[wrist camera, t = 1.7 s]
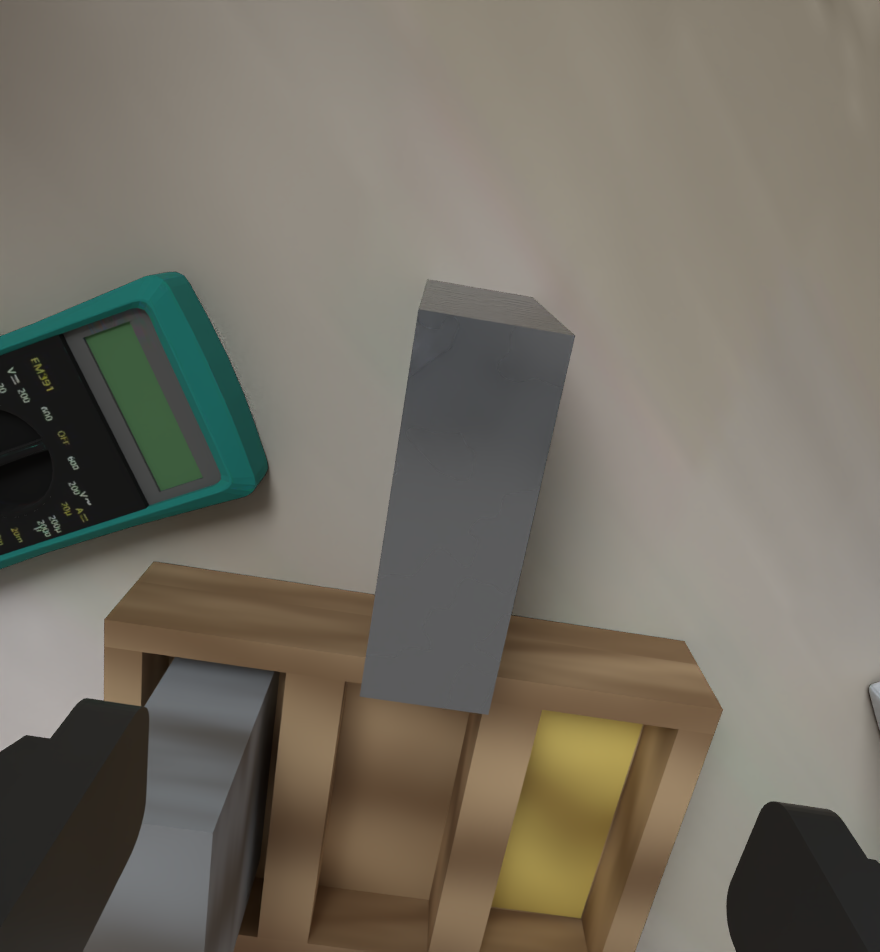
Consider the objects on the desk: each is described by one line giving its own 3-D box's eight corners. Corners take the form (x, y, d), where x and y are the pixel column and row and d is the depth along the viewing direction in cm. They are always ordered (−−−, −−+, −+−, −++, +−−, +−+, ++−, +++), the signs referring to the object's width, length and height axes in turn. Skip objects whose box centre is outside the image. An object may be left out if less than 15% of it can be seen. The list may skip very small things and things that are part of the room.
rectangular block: (427, 279, 23) (418, 309, 15) (532, 296, 23) (575, 335, 15) (384, 558, 26) (359, 696, 18) (475, 572, 26) (488, 715, 19)
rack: (153, 561, 26) (0, 740, 17) (684, 641, 27) (802, 850, 18) (144, 853, 31) (21, 1113, 22) (595, 912, 32) (652, 1184, 23)
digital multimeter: (-197, 404, 25) (-279, 428, 22) (193, 263, 23) (158, 269, 20) (-80, 583, 27) (-140, 625, 24) (281, 467, 25) (261, 498, 22)
